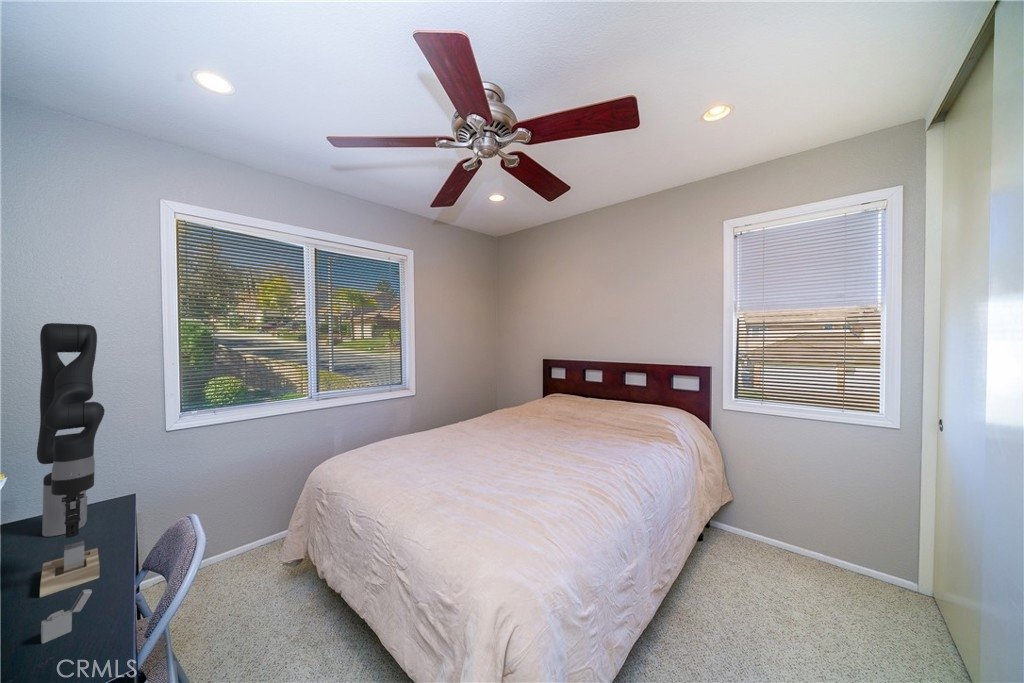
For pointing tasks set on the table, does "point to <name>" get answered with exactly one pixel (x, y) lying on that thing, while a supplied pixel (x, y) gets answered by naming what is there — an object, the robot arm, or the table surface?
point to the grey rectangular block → (73, 556)
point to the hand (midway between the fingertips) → (72, 530)
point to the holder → (58, 581)
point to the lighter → (62, 619)
